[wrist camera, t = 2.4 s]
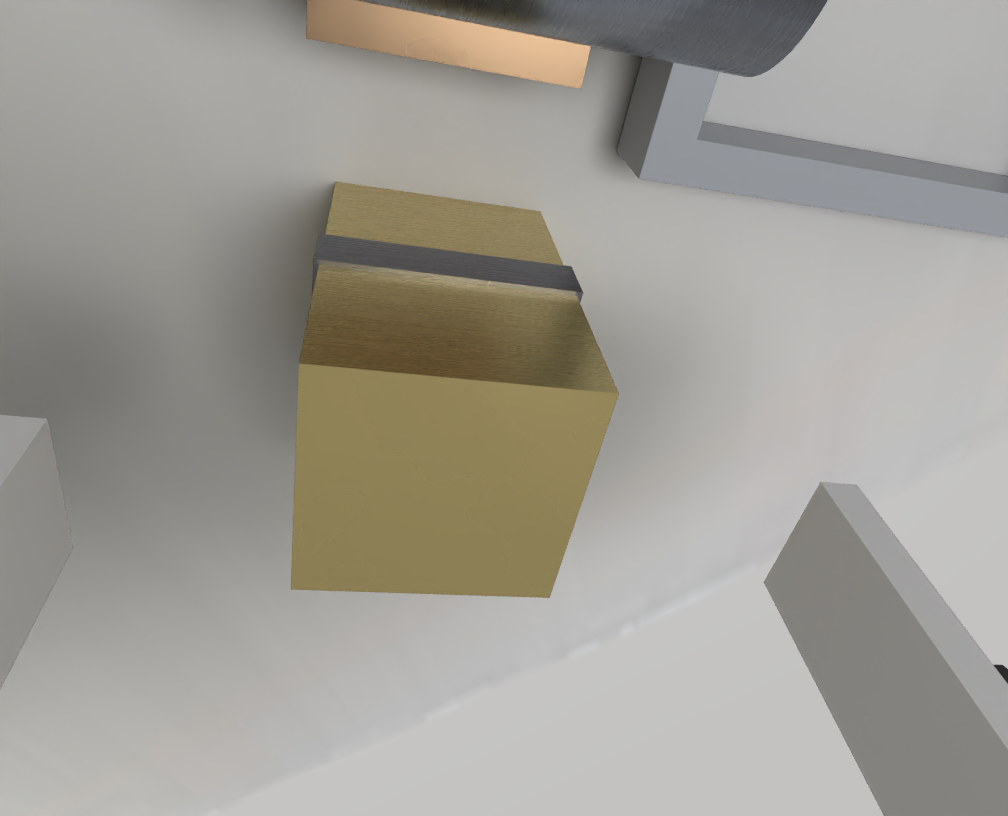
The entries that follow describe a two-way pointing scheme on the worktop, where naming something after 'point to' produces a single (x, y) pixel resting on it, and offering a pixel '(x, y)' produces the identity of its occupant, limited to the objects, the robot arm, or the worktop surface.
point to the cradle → (793, 161)
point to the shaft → (568, 32)
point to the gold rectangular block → (442, 400)
